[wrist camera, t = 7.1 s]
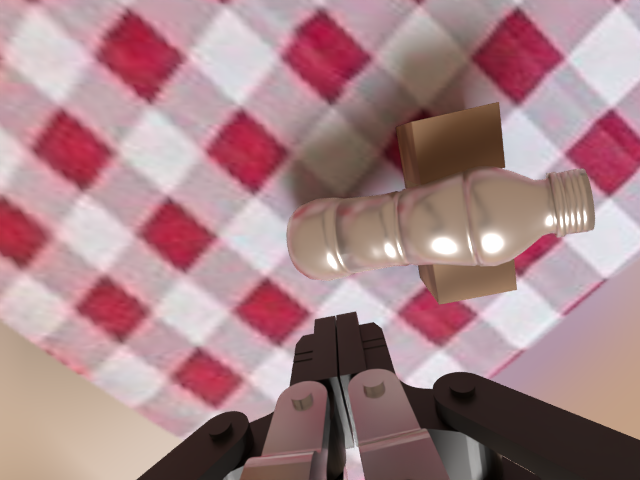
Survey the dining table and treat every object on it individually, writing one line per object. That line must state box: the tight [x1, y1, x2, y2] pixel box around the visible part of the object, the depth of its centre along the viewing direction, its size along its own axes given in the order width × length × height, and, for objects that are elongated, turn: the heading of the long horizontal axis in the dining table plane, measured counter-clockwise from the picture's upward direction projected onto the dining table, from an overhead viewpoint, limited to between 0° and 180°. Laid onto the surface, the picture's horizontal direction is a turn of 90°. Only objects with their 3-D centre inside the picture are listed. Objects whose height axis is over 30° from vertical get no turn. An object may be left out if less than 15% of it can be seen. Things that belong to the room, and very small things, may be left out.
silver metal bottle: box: [286, 166, 595, 281], centre depth 26 cm, size 6×7×20 cm
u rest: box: [396, 102, 517, 304], centre depth 29 cm, size 14×6×6 cm, turn 12°
